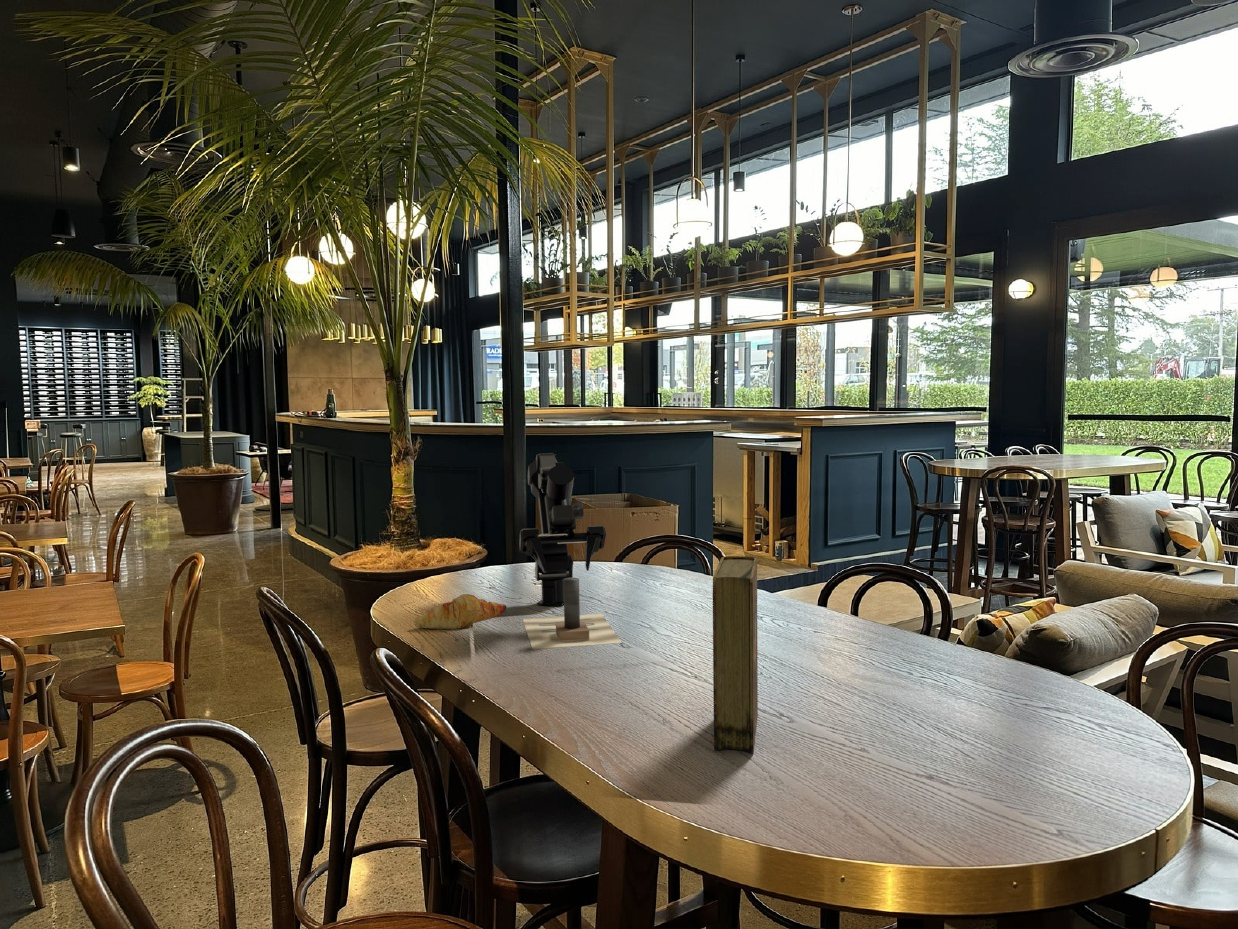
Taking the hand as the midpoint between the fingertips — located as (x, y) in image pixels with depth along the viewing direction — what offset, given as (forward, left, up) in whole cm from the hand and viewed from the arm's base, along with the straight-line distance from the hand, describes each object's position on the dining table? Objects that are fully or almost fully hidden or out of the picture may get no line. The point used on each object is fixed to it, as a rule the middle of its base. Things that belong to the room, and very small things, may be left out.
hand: (566, 570), depth 180 cm
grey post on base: (+6, +3, -12) cm, 14 cm away
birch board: (+2, +1, -13) cm, 13 cm away
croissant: (-2, -26, -14) cm, 30 cm away
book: (+46, +43, -14) cm, 64 cm away
